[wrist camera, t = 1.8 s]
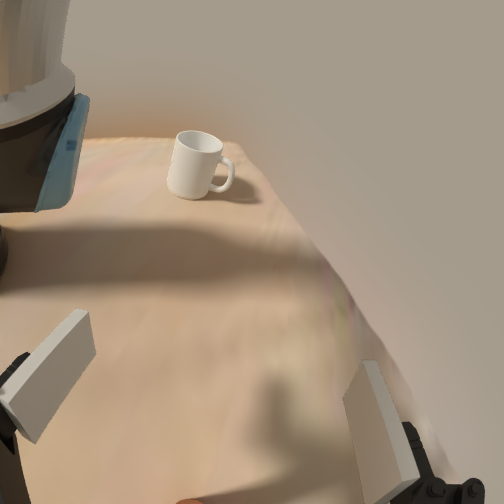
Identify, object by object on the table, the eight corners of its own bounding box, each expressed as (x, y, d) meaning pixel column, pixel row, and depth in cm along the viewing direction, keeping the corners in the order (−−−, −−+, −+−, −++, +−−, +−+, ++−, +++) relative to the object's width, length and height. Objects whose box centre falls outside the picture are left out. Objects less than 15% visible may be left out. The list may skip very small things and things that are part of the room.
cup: (178, 170, 56) (190, 126, 49) (231, 193, 56) (248, 150, 49) (157, 189, 49) (167, 139, 43) (216, 215, 50) (233, 166, 43)
